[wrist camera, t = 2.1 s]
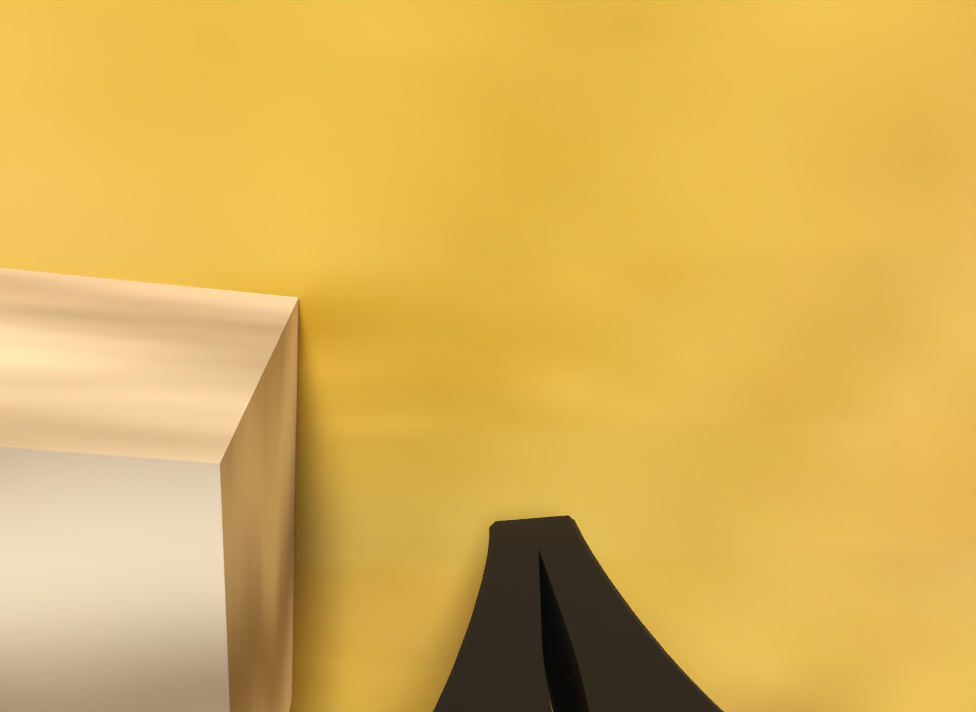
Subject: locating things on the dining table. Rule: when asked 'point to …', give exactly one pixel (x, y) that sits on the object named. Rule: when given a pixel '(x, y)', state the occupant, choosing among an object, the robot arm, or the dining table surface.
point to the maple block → (145, 496)
